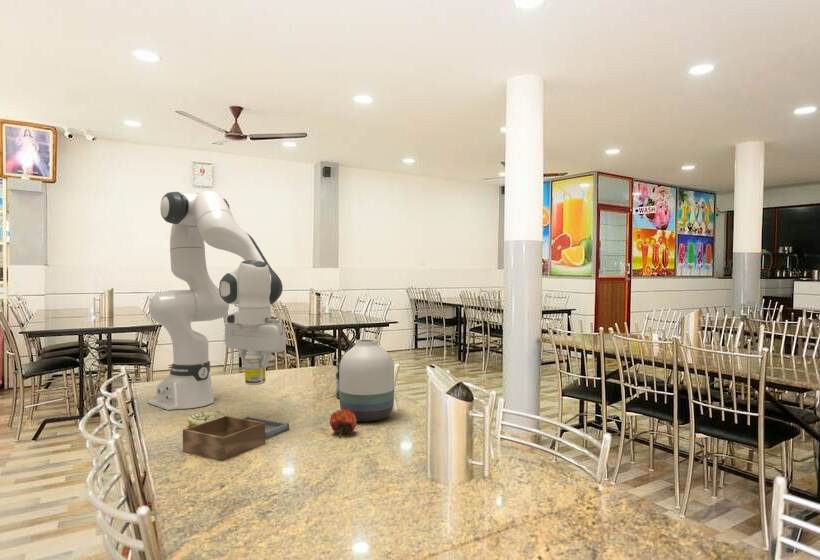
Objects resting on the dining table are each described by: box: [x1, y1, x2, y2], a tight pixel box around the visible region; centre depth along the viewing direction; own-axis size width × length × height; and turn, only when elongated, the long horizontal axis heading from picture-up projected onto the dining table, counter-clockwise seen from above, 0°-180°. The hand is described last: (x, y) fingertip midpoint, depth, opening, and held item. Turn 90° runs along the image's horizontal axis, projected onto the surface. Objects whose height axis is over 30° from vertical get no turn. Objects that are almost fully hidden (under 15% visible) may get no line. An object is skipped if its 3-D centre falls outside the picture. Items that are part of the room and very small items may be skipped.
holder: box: [182, 415, 266, 462], centre depth 134 cm, size 14×14×6 cm
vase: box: [339, 338, 395, 422], centre depth 161 cm, size 17×17×24 cm
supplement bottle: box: [244, 348, 266, 386], centre depth 147 cm, size 6×6×10 cm
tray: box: [242, 416, 290, 440], centre depth 148 cm, size 16×10×2 cm, turn 62°
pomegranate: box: [329, 408, 357, 440], centre depth 144 cm, size 7×7×10 cm
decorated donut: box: [187, 410, 227, 428], centre depth 152 cm, size 10×11×4 cm
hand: (255, 366), depth 147 cm, fingers closed on supplement bottle, 5 cm apart
